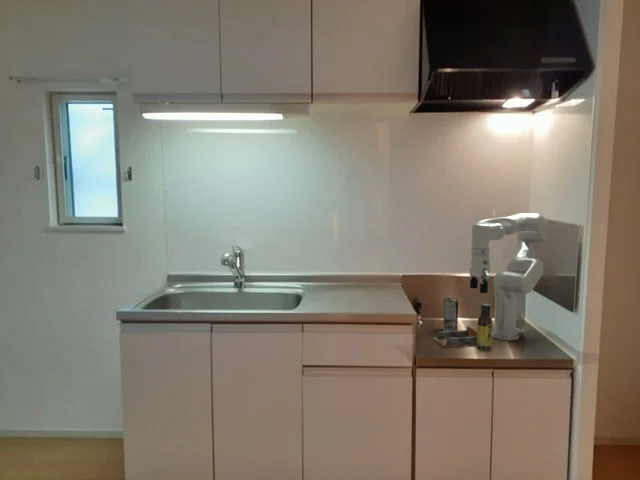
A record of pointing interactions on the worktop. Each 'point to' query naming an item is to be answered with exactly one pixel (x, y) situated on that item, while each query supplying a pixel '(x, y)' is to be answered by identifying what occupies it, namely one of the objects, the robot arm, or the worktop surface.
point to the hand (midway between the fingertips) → (478, 290)
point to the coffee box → (450, 314)
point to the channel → (457, 338)
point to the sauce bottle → (484, 328)
